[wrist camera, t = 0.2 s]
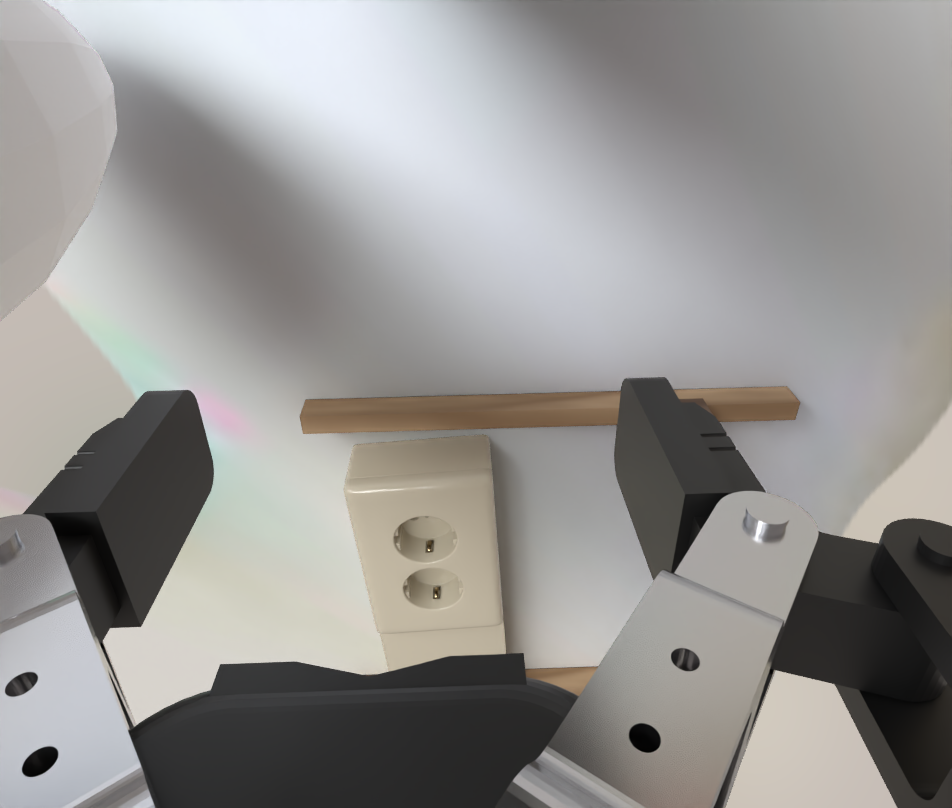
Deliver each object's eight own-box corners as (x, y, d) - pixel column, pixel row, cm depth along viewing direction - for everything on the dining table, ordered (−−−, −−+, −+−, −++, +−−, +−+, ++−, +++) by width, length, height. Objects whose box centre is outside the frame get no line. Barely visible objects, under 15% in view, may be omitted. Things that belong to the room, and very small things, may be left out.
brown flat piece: (304, 392, 32) (292, 427, 30) (788, 379, 33) (817, 412, 30) (357, 688, 45) (352, 730, 43) (705, 675, 46) (719, 716, 43)
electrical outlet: (394, 714, 41) (340, 491, 31) (399, 657, 44) (352, 440, 34) (510, 705, 41) (493, 479, 31) (505, 649, 44) (488, 429, 34)
